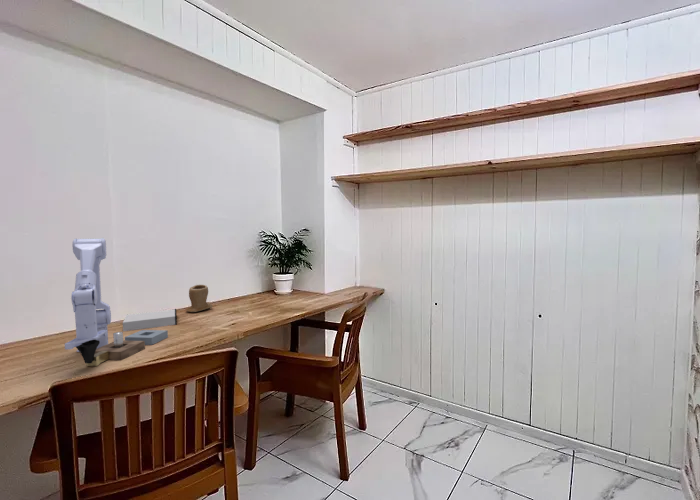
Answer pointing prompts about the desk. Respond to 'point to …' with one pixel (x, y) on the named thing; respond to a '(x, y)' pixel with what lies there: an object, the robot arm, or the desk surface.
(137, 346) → the socket block
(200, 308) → the stone cup
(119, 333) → the grey peg
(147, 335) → the block
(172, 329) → the desk surface
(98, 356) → the key
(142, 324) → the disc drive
